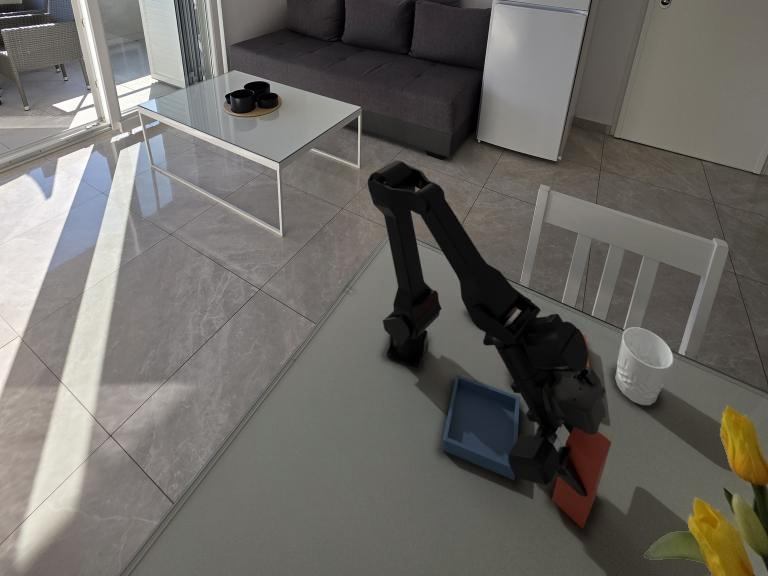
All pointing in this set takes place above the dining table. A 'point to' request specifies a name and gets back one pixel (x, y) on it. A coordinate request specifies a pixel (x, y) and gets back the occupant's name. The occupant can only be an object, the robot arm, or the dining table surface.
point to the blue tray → (482, 425)
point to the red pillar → (582, 473)
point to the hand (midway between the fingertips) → (590, 480)
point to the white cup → (642, 365)
